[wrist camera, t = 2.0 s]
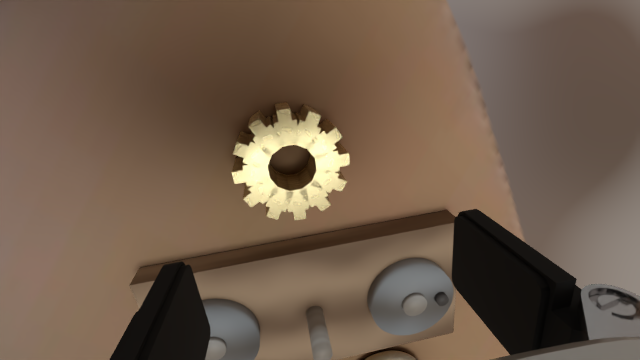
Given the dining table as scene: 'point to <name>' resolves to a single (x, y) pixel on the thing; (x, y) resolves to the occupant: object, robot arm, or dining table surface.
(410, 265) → the gear board
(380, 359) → the stacking toy
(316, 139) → the brass gear
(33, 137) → the dining table surface
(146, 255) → the dining table surface
